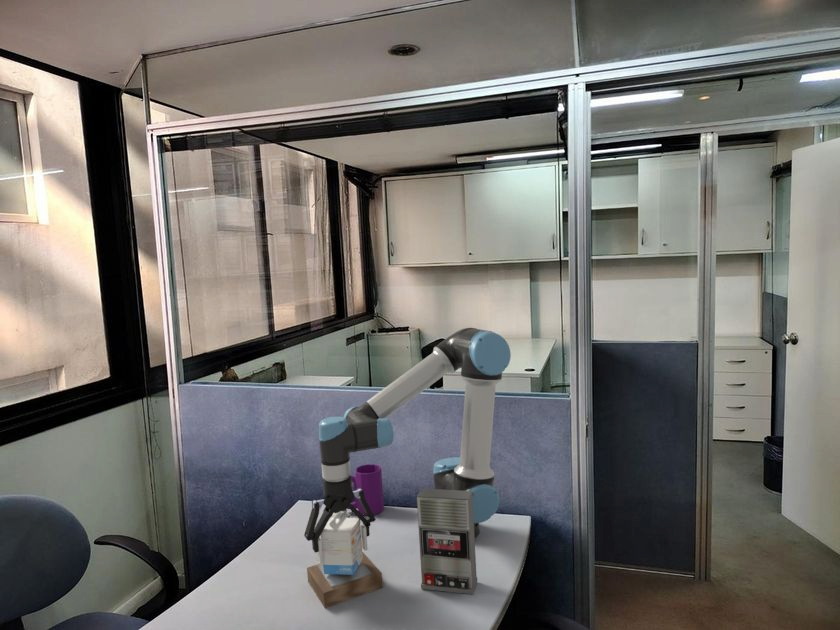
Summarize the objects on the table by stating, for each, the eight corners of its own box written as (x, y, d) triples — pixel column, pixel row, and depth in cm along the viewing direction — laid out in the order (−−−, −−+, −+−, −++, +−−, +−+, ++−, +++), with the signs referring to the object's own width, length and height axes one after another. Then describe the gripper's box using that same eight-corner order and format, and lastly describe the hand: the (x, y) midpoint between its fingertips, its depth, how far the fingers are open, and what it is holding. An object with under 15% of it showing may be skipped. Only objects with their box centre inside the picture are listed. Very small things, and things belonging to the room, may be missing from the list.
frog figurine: (347, 535, 178) (345, 514, 177) (326, 534, 180) (325, 513, 179) (354, 526, 184) (352, 506, 183) (334, 525, 186) (332, 505, 185)
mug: (384, 515, 191) (381, 472, 189) (338, 519, 190) (334, 476, 188) (384, 503, 200) (381, 463, 198) (340, 507, 199) (337, 466, 197)
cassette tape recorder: (420, 590, 146) (415, 497, 144) (426, 577, 152) (421, 488, 149) (473, 596, 142) (468, 501, 140) (477, 582, 148) (472, 491, 146)
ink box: (353, 576, 145) (350, 526, 144) (323, 574, 147) (319, 525, 146) (363, 558, 154) (360, 511, 152) (334, 557, 155) (330, 510, 154)
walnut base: (362, 563, 161) (361, 549, 160) (382, 587, 148) (381, 571, 148) (308, 581, 153) (306, 566, 153) (324, 608, 141) (323, 591, 140)
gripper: (373, 462, 157) (378, 536, 159) (287, 483, 145) (294, 562, 148) (384, 470, 150) (389, 547, 152) (295, 492, 139) (302, 575, 141)
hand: (342, 555), depth 150 cm, fingers open, 12 cm apart
